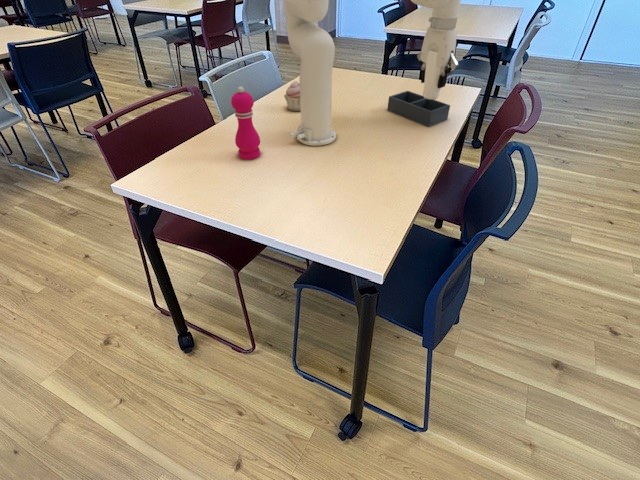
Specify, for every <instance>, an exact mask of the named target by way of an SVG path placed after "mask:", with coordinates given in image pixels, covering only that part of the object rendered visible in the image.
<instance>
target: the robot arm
mask: <svg viewBox="0 0 640 480" xmlns="http://www.w3.org/2000/svg"><path fill="white" fill-rule="evenodd" d="M410 1H411V3H412V4H415V5H416V6H421V7H426V8H430V9H432V11H431V12H432V13H431V16H430V17H429V18H428V22H429V23H430V25H429V26H428V27H427V28H426V32H425V35H424V38H423V42H422V45H421V50H420V52H419V53H418V54H417V55H416V57H417V59H418V61H419V62H418V63H419V65H420V69H421V71H422V72H421V76H420V77H421V78H420V83H421V84H424V80H425V67H426V62H427V57H428V52H429V50H430V51H434V52H438V55H437V61H436V65H437V66H439V67H441V74H442V75H440V76H439V81H438V88H441V89H442V88H445V87H446V84H447V80H448V75H450V74H451V73H452V72H453V71H454V70H455V69H456V68H458V67H459V62H458V61H457V59H456V56H455V54H456V47H457V35H458V34H457V33H458V32H457V28H456V27H457V22H458V17H459V11H460V7H461V2H462V0H410ZM329 2H330V0H283V5H284V14H285V15H284V16H285V23H286V32H287V40H288V43H289V44H288V45H289V47H290V50H291V52H293V54H295V55H296V56H297V57H298V58H299V59H300V68H299V84H300V104H301V111H300V124H299V125H298V126H297V127H298V128H297V129H296V130H293V131H290V132H288V138H289V139H294V138H296V139H297V140H298V142H299V143H301V144H303V145H306V146H313V147H314V146H315V147H317V146H318V147H319V146H320V147H321V146H325V145H329V144H332V143H333V142H334V141H336V138H337V133H336V132H335V130H334V129H332V111H333V110H332V107H333V106H332V102H333V101H332V100H333V99H332V98H333V97H332V96H333V95H332V94H333V69H334V62H335V56H336V47H335V42H334V39H333V37H332V36H331V34H329V32H328V31H326V30H325V29H324V28H322V27H320V26H319V22H321V21H323V19H324V18H325V17H326V15H327V14H328V11H329V5H330V3H329ZM445 66H446V69H445Z"/></svg>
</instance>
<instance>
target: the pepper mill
mask: <svg viewBox="0 0 640 480" xmlns="http://www.w3.org/2000/svg"><path fill="white" fill-rule="evenodd" d="M254 103H255V102H254V98H253V96H252V94H250V93H249V92H247V91H245V88H244V87H243V86H238V87H237V92H235V93H234V94H233V95H232V97H231V100H230V104H231V106H232V108H233V109H234V116H235V118H236V120H237V131H236V134H235V138H234V141H235V142H234V143H235V146H236V147H237V149H238V157H239V158H240V159H242V160H246V161H247V160H248V161H249V160H255V159H258V158H259V157H260V156H261V149H260V147H259V146H260V145H261V138H260V137H261V136H260V135H259V133H258V131H257V129H256V127H255V126H254V124H253V116H254V110H253V109H252V108H253V107H254Z"/></svg>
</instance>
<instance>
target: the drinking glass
mask: <svg viewBox="0 0 640 480" xmlns="http://www.w3.org/2000/svg"><path fill="white" fill-rule="evenodd" d="M437 55H438V52H434V51H430V50H429V52H428V57H427V62H426V67H425V80H424V83H423V92H422V96H423V97H424V98H426V99H430V100H437V99H439V98H440V93H441V89H442V88H438V81H439V76H440V75H442V74H441V67H439V66H437V65H436V61H437ZM445 69H446V66H445Z"/></svg>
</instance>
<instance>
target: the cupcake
mask: <svg viewBox="0 0 640 480" xmlns="http://www.w3.org/2000/svg"><path fill="white" fill-rule="evenodd" d="M285 92H286V93H285V94H284V95H283V97H284V100H285V102H286V105H287V108H288V110H289V111H292V112H301V104H300V82H298V80H295V81H293V82H291V83H290V85H289V86H288V87H287V88H286V91H285Z"/></svg>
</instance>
